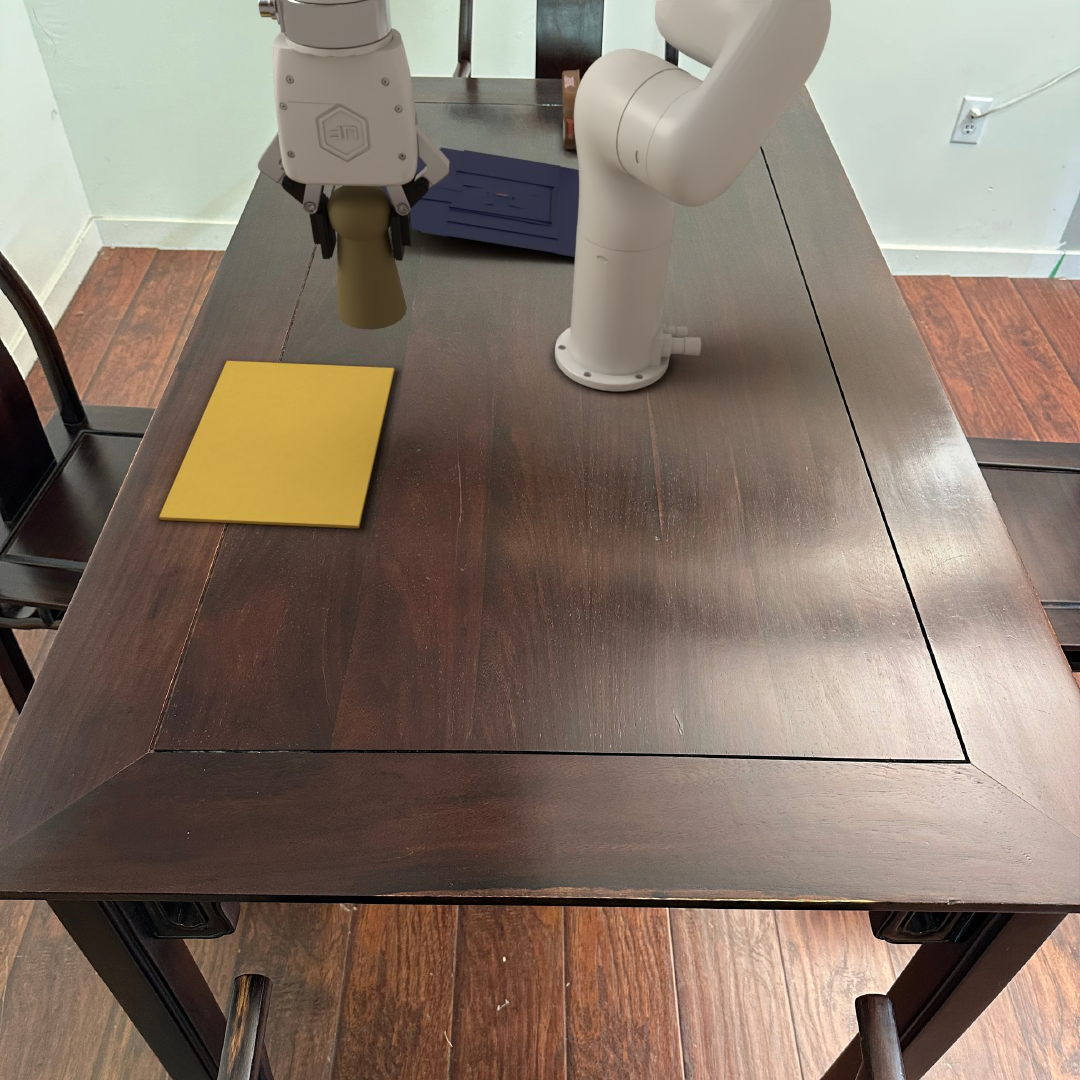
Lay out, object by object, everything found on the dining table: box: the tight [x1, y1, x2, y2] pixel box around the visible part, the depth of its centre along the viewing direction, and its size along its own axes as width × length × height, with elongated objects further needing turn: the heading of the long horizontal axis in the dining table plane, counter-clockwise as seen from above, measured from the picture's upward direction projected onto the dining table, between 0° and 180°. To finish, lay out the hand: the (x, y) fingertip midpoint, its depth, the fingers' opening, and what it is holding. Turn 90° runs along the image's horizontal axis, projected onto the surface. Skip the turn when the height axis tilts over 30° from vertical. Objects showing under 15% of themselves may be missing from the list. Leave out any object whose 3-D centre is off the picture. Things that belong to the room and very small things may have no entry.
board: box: [158, 360, 395, 529], centre depth 95 cm, size 18×24×1 cm
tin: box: [561, 69, 581, 150], centre depth 143 cm, size 15×3×8 cm, turn 179°
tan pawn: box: [327, 186, 408, 331], centre depth 81 cm, size 6×6×11 cm
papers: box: [378, 147, 579, 258], centre depth 128 cm, size 24×30×4 cm
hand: (364, 249), depth 80 cm, fingers closed on tan pawn, 5 cm apart
